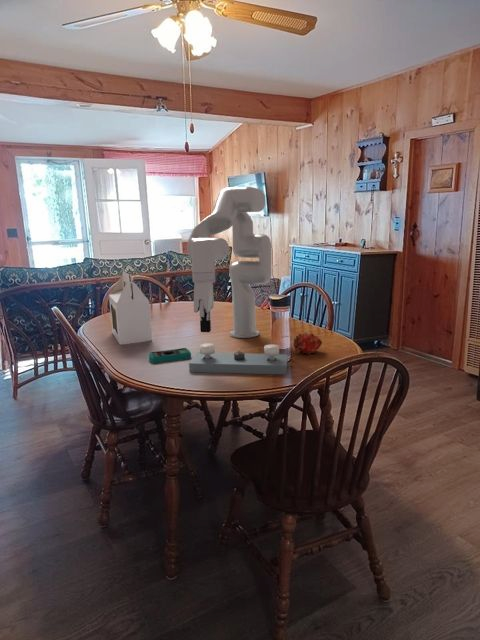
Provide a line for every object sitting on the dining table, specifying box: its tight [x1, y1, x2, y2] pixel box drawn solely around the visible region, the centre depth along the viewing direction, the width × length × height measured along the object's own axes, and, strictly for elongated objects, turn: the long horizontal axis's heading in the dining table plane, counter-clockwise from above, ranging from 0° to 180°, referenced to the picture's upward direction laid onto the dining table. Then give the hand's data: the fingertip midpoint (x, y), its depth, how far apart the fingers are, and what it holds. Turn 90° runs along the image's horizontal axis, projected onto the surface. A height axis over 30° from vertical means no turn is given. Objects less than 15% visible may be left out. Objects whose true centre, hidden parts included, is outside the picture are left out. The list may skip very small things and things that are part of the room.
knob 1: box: [199, 343, 216, 359], centre depth 155 cm, size 5×5×6 cm
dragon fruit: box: [293, 332, 323, 355], centre depth 167 cm, size 8×8×12 cm
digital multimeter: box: [148, 347, 192, 364], centre depth 166 cm, size 7×15×3 cm, turn 109°
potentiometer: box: [233, 348, 245, 360], centre depth 153 cm, size 4×4×3 cm
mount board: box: [188, 352, 289, 375], centre depth 154 cm, size 12×32×3 cm, turn 82°
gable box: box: [108, 270, 153, 346], centre depth 193 cm, size 22×13×28 cm, turn 23°
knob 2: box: [263, 343, 280, 361], centre depth 152 cm, size 5×5×6 cm
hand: (205, 331), depth 152 cm, fingers closed
